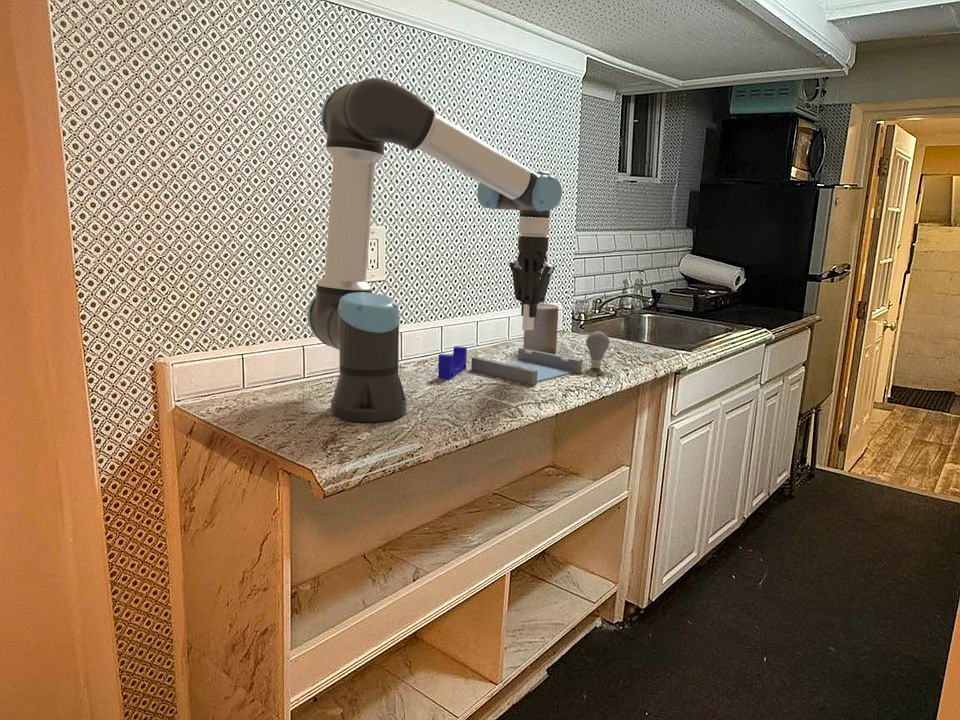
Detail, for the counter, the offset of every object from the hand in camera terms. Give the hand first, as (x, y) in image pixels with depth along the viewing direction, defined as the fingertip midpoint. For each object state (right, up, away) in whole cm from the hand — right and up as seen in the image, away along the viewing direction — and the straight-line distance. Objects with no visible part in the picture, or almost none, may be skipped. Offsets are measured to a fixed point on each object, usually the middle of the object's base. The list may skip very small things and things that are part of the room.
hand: (527, 329), depth 174 cm
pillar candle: (+5, -6, +27) cm, 28 cm away
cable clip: (-20, -12, -3) cm, 23 cm away
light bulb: (+19, -10, +8) cm, 23 cm away
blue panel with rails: (0, -11, +3) cm, 11 cm away
